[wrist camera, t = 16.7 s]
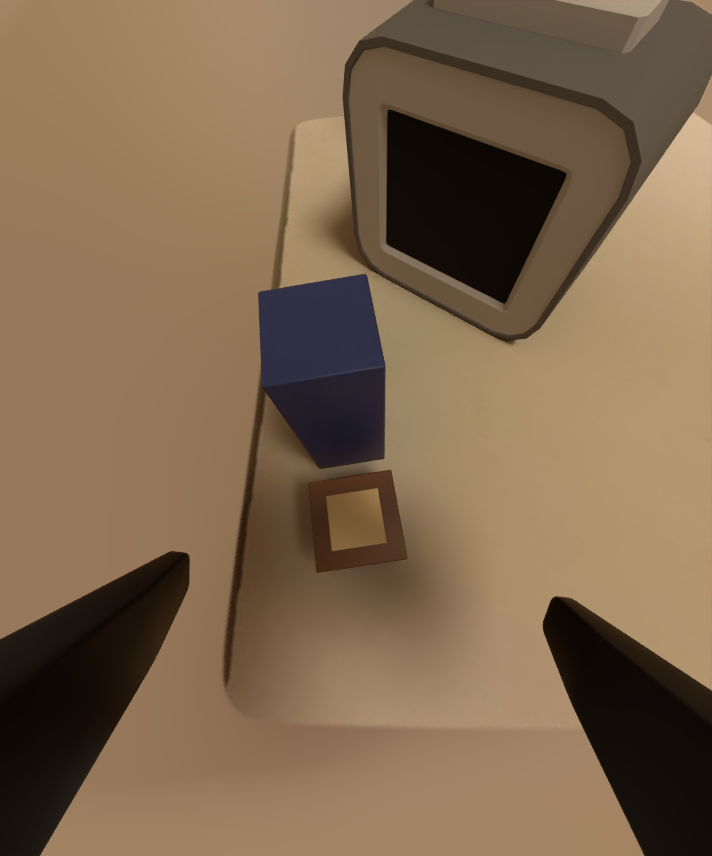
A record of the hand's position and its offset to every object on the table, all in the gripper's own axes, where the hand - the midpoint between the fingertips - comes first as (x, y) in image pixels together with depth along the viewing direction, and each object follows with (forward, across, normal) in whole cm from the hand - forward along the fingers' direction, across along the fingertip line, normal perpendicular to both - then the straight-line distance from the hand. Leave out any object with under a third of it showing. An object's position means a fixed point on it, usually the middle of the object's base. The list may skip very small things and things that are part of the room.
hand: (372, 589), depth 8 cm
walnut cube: (+12, -1, +6) cm, 14 cm away
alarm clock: (+25, -8, -13) cm, 30 cm away
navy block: (+16, +1, +1) cm, 16 cm away
